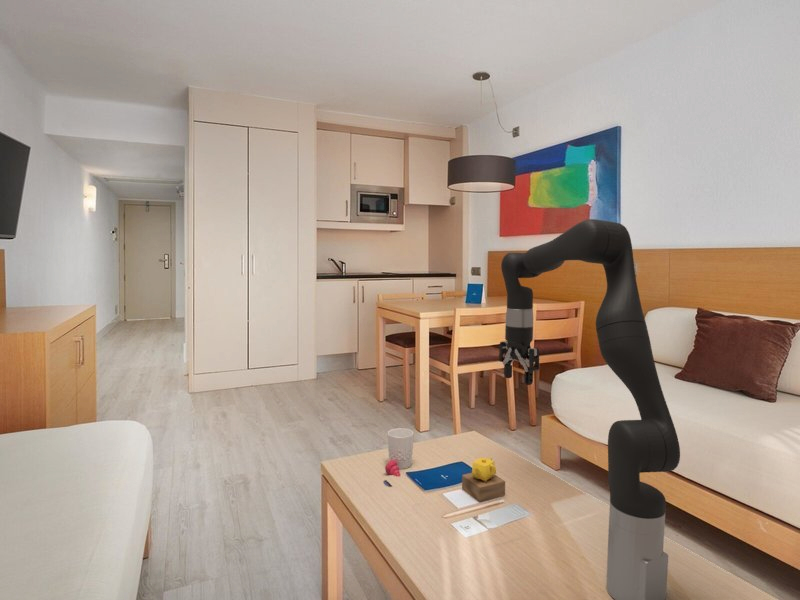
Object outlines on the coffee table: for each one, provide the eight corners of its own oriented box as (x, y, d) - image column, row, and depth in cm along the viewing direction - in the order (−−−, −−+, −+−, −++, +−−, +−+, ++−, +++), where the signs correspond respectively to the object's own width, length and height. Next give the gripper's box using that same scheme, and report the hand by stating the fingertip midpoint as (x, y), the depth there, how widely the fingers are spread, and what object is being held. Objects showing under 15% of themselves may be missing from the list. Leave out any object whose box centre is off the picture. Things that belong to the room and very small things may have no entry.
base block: (504, 496, 126) (505, 481, 126) (479, 502, 122) (479, 487, 122) (486, 483, 133) (486, 469, 133) (462, 489, 130) (462, 474, 129)
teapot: (486, 487, 122) (487, 468, 122) (467, 480, 126) (467, 461, 125) (502, 476, 128) (502, 458, 128) (483, 470, 132) (483, 452, 131)
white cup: (407, 457, 152) (407, 426, 151) (417, 467, 145) (417, 435, 144) (384, 461, 149) (384, 429, 148) (392, 471, 142) (392, 438, 141)
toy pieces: (371, 482, 136) (371, 467, 136) (396, 468, 145) (396, 454, 144) (404, 495, 129) (404, 479, 128) (428, 480, 137) (428, 465, 137)
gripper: (547, 326, 130) (545, 385, 132) (513, 320, 143) (511, 374, 145) (526, 328, 127) (524, 388, 128) (492, 321, 140) (491, 377, 141)
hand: (517, 381), depth 137 cm, fingers open, 8 cm apart
